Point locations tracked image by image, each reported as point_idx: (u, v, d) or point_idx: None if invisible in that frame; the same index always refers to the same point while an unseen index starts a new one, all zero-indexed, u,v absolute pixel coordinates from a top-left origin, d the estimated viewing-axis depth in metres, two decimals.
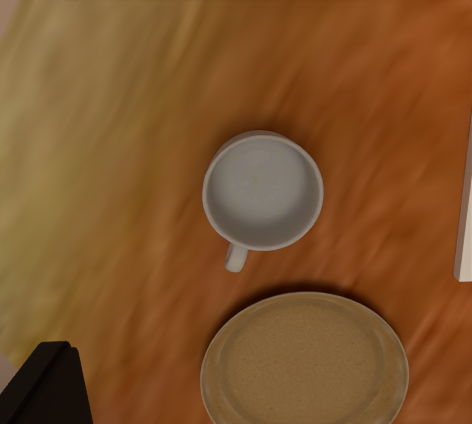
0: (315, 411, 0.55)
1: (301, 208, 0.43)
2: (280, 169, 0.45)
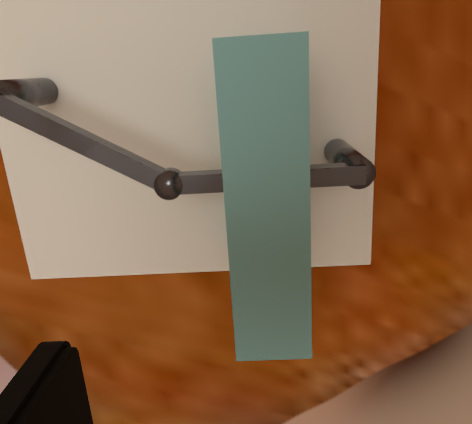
0: None
1: None
2: None
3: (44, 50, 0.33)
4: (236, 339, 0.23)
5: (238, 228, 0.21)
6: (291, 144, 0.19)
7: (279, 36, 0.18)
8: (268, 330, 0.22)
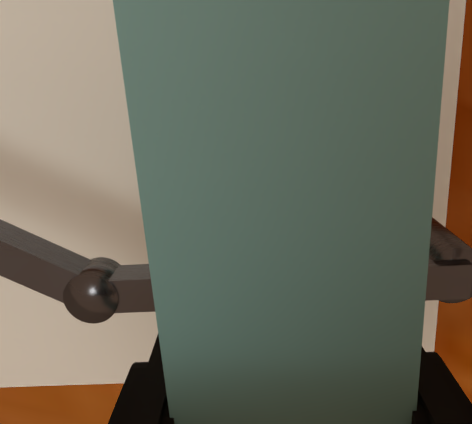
0: None
1: None
2: None
3: None
4: None
5: None
6: (368, 308, 0.06)
7: None
8: None
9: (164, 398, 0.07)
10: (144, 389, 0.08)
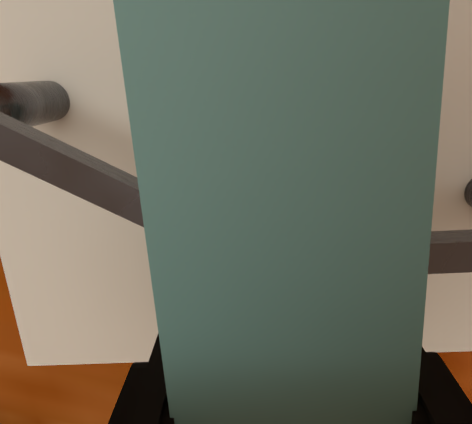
0: None
1: None
2: None
3: (49, 39, 0.21)
4: None
5: None
6: (369, 308, 0.06)
7: None
8: None
9: (164, 398, 0.07)
10: (144, 389, 0.08)
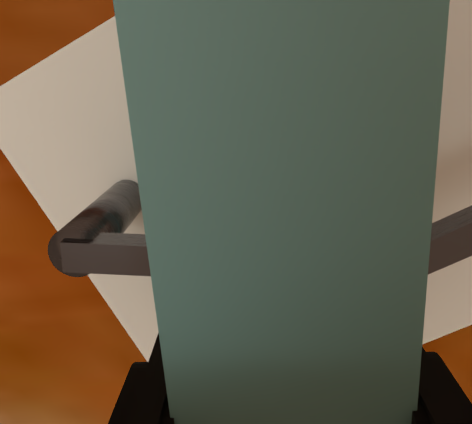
0: None
1: None
2: None
3: (106, 145, 0.23)
4: None
5: None
6: (369, 308, 0.06)
7: None
8: None
9: (164, 398, 0.07)
10: (144, 389, 0.08)
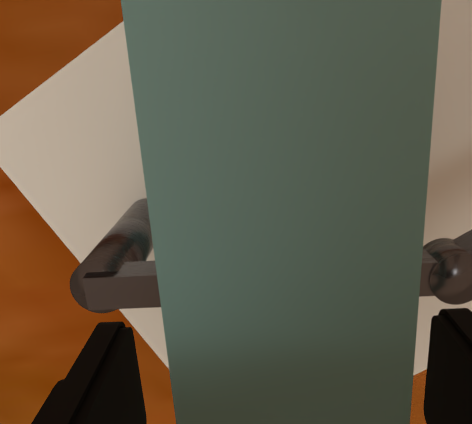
0: None
1: None
2: None
3: (120, 164, 0.22)
4: None
5: None
6: (365, 293, 0.07)
7: None
8: None
9: None
10: (50, 413, 0.07)
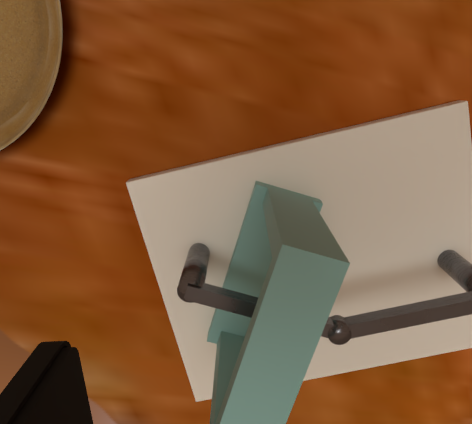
0: None
1: None
2: None
3: (196, 222, 0.40)
4: None
5: (247, 371, 0.26)
6: (309, 329, 0.26)
7: (329, 259, 0.24)
8: None
9: None
10: None
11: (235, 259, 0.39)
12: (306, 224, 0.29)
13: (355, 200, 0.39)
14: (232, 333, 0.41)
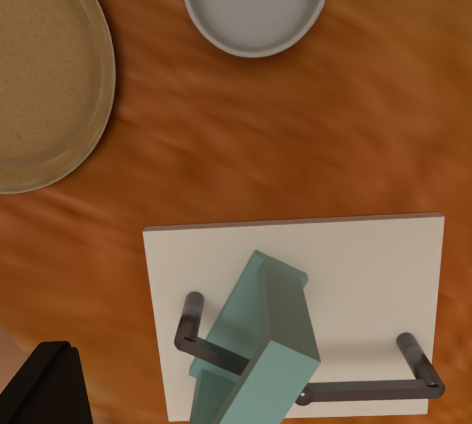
0: None
1: (224, 41, 0.36)
2: (264, 18, 0.38)
3: (197, 274, 0.45)
4: None
5: None
6: (279, 405, 0.32)
7: (305, 357, 0.30)
8: None
9: None
10: None
11: (225, 312, 0.45)
12: (292, 311, 0.35)
13: (336, 279, 0.45)
14: (211, 372, 0.47)
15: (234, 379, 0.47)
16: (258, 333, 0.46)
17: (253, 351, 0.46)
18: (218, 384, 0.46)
